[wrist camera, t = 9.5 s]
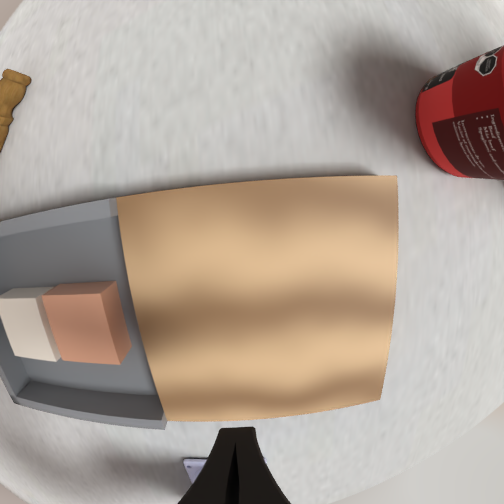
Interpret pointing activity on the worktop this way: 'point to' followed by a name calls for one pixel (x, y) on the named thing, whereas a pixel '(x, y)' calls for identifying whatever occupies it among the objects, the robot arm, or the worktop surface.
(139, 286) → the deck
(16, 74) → the tap handle
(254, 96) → the worktop surface
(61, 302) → the tile
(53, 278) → the tray
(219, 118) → the worktop surface
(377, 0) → the worktop surface
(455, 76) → the canned food
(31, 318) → the tile
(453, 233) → the worktop surface
